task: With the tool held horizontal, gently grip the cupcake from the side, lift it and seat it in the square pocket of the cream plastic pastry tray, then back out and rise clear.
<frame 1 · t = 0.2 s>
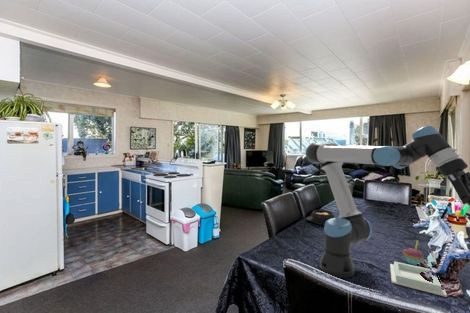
pastry tray: (415, 279, 104), on the table
casserole: (322, 223, 181), on the table
cupcake: (412, 263, 118), on the table
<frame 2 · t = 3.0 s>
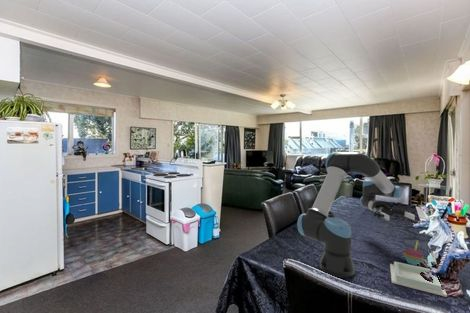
hand: (401, 217, 126), 21 cm above the table, tool horizontal, fingers open, 13 cm apart
nothing on the table moved.
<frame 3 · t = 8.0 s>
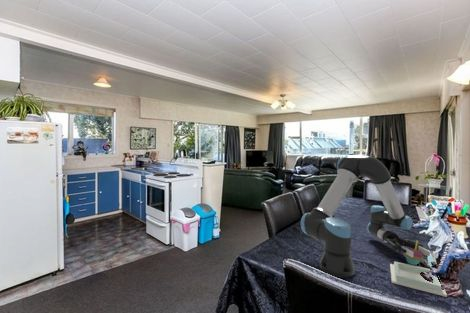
hand: (421, 254, 113), 7 cm above the table, tool horizontal, fingers closed on cupcake, 8 cm apart
cupcake: (412, 263, 118), on the table, touching gripper
everything else where it was.
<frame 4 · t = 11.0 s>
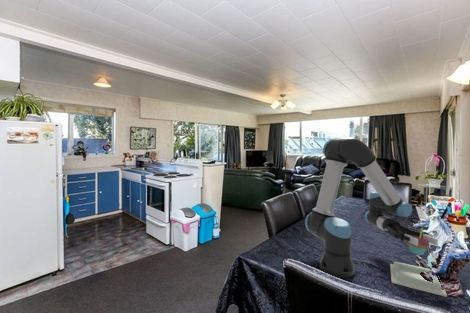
hand: (427, 242, 100), 18 cm above the table, tool horizontal, fingers closed on cupcake, 8 cm apart
cupcake: (416, 253, 105), point 11 cm above the table, touching gripper
everything else where it was.
when the fingers open (9 cm above the table, at t = 14.3 s): cupcake drops 1 cm, resting on pastry tray.
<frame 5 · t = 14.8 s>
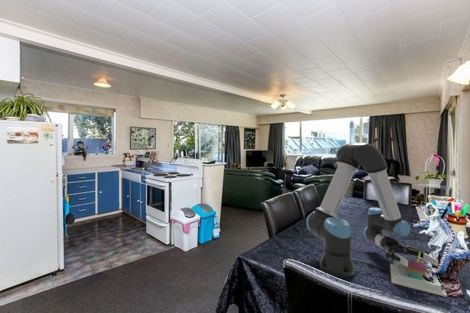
hand: (422, 263, 100), 9 cm above the table, tool horizontal, fingers open, 13 cm apart
cupcake: (414, 277, 104), point 1 cm above the table, touching pastry tray
everything else where it was.
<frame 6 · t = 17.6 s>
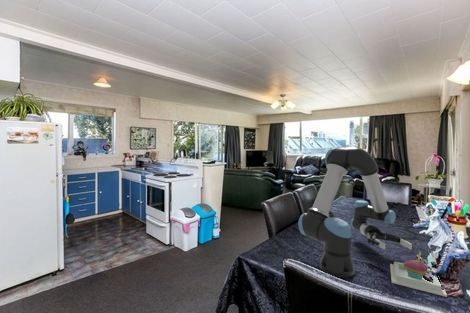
hand: (397, 246, 114), 10 cm above the table, tool horizontal, fingers open, 13 cm apart
nothing on the table moved.
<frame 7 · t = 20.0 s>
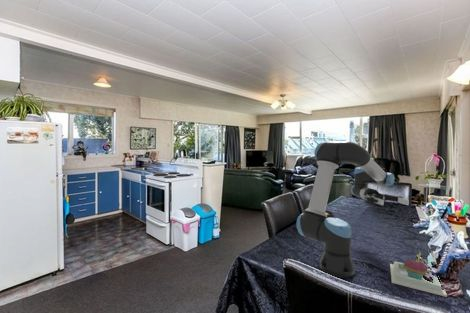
hand: (395, 202, 121), 30 cm above the table, tool horizontal, fingers open, 13 cm apart
nothing on the table moved.
at the end: cupcake 0.1 cm off-centre on the pastry tray, point 0.6 cm above the pastry tray's base; cupcake tilted 0°; the gripper is holding nothing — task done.
